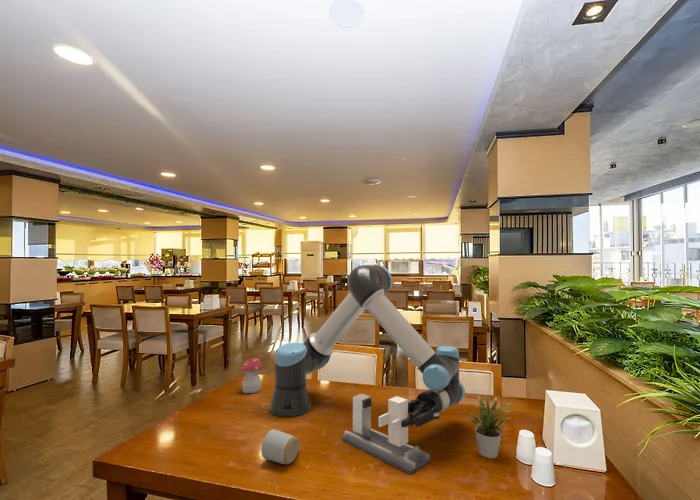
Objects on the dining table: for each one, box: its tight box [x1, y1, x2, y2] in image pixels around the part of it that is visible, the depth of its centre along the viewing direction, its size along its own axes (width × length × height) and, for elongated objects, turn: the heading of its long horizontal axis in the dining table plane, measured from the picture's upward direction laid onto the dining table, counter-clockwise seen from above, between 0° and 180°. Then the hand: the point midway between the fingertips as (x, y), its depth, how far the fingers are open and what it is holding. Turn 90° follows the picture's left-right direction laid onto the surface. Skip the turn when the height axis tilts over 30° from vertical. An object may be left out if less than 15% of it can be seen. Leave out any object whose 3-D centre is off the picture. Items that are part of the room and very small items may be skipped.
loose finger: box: [386, 395, 409, 447], centre depth 105 cm, size 5×4×12 cm
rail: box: [341, 393, 432, 475], centre depth 108 cm, size 26×10×13 cm, turn 45°
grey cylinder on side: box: [260, 428, 301, 465], centre depth 103 cm, size 11×8×8 cm
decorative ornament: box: [240, 354, 263, 394], centre depth 156 cm, size 9×7×15 cm
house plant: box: [463, 394, 514, 459], centre depth 105 cm, size 14×14×16 cm
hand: (386, 424), depth 101 cm, fingers closed on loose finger, 4 cm apart
